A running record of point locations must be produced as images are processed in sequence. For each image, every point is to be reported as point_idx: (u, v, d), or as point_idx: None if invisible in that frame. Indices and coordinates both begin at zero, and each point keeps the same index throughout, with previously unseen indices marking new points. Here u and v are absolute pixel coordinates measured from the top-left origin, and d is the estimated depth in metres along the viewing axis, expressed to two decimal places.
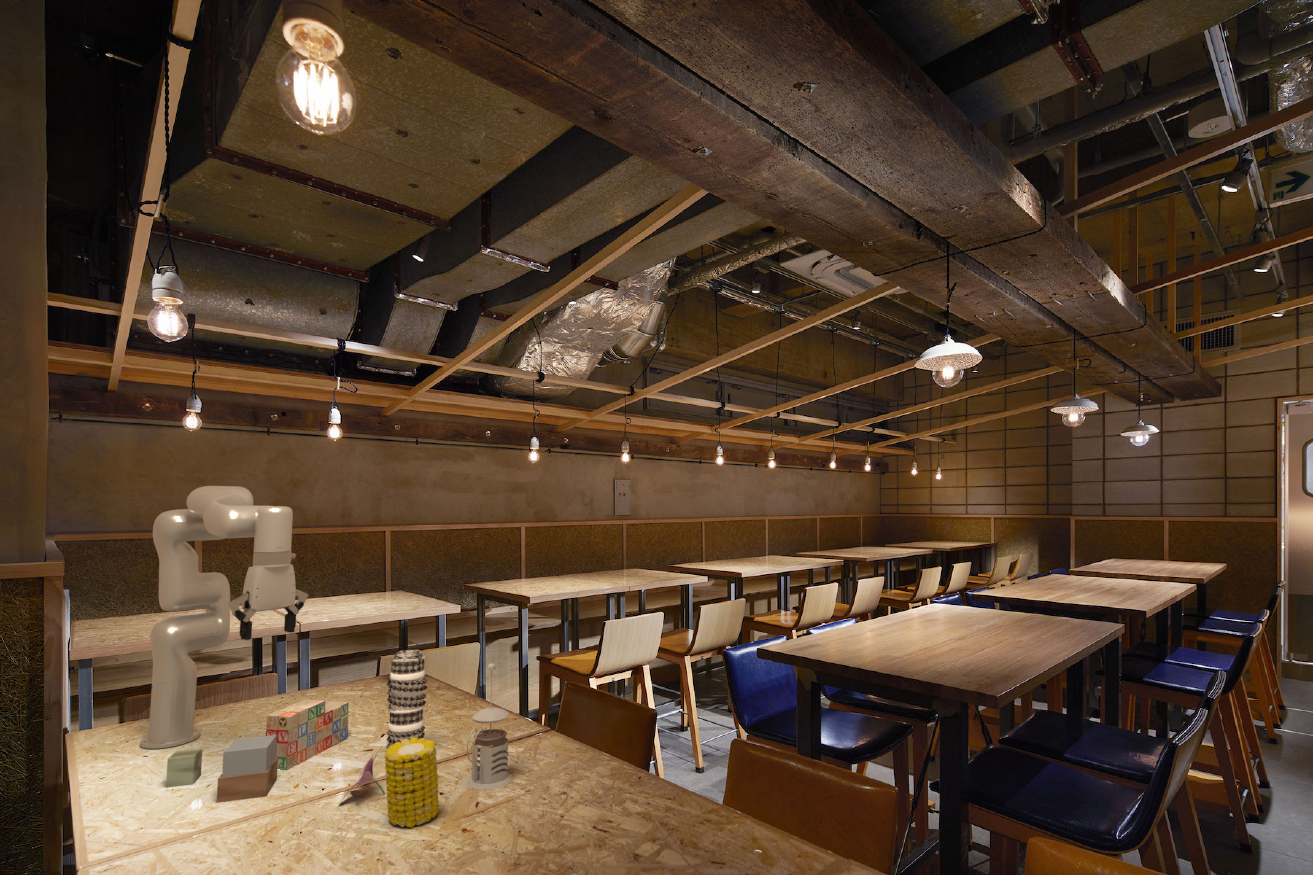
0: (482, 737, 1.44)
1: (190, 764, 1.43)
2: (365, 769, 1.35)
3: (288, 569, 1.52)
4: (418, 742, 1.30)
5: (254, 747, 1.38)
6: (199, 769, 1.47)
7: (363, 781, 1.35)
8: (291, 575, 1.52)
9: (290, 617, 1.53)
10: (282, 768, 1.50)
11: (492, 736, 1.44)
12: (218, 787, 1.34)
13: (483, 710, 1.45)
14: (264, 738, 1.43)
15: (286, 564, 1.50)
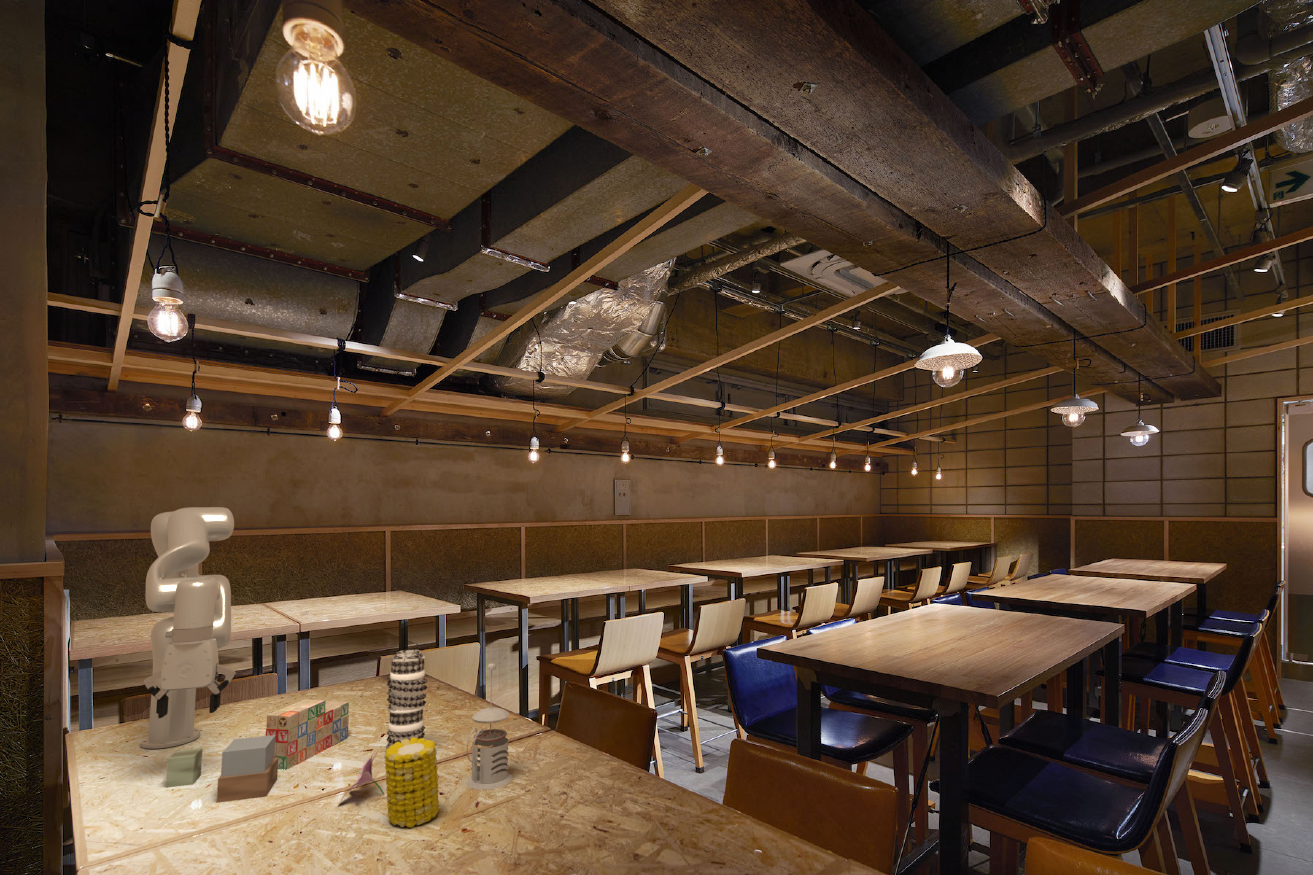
0: (482, 737, 1.44)
1: (190, 764, 1.43)
2: (364, 769, 1.34)
3: None
4: (418, 742, 1.30)
5: (252, 747, 1.38)
6: (199, 769, 1.47)
7: (362, 781, 1.35)
8: None
9: (167, 699, 1.45)
10: (282, 768, 1.51)
11: (492, 736, 1.44)
12: (218, 787, 1.34)
13: (483, 710, 1.45)
14: (263, 738, 1.43)
15: None
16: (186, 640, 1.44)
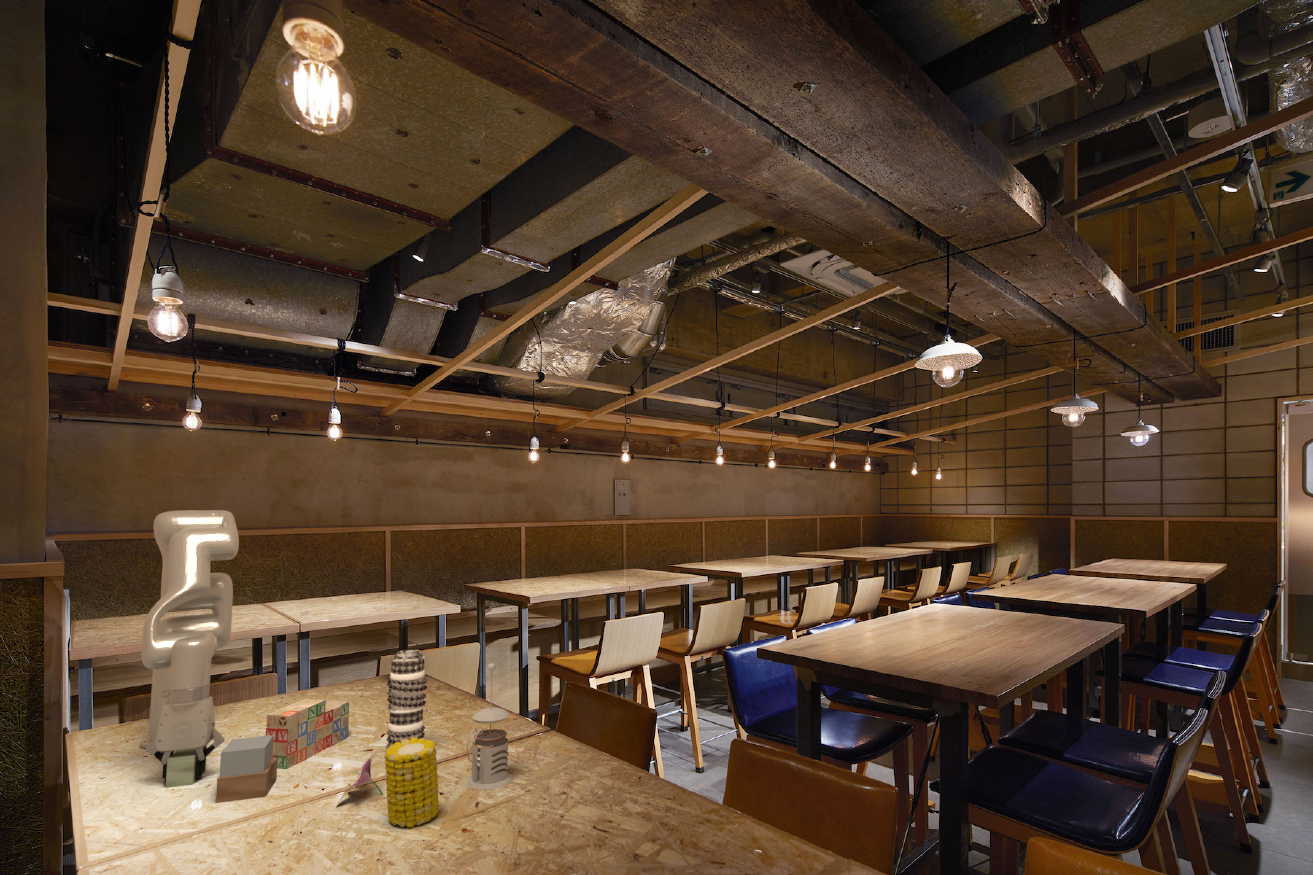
0: (482, 737, 1.44)
1: (190, 764, 1.43)
2: (363, 770, 1.34)
3: None
4: (418, 742, 1.30)
5: (251, 747, 1.38)
6: None
7: (361, 782, 1.35)
8: None
9: None
10: (282, 767, 1.51)
11: (492, 736, 1.44)
12: (217, 787, 1.34)
13: (483, 710, 1.45)
14: (261, 739, 1.43)
15: None
16: (182, 701, 1.43)
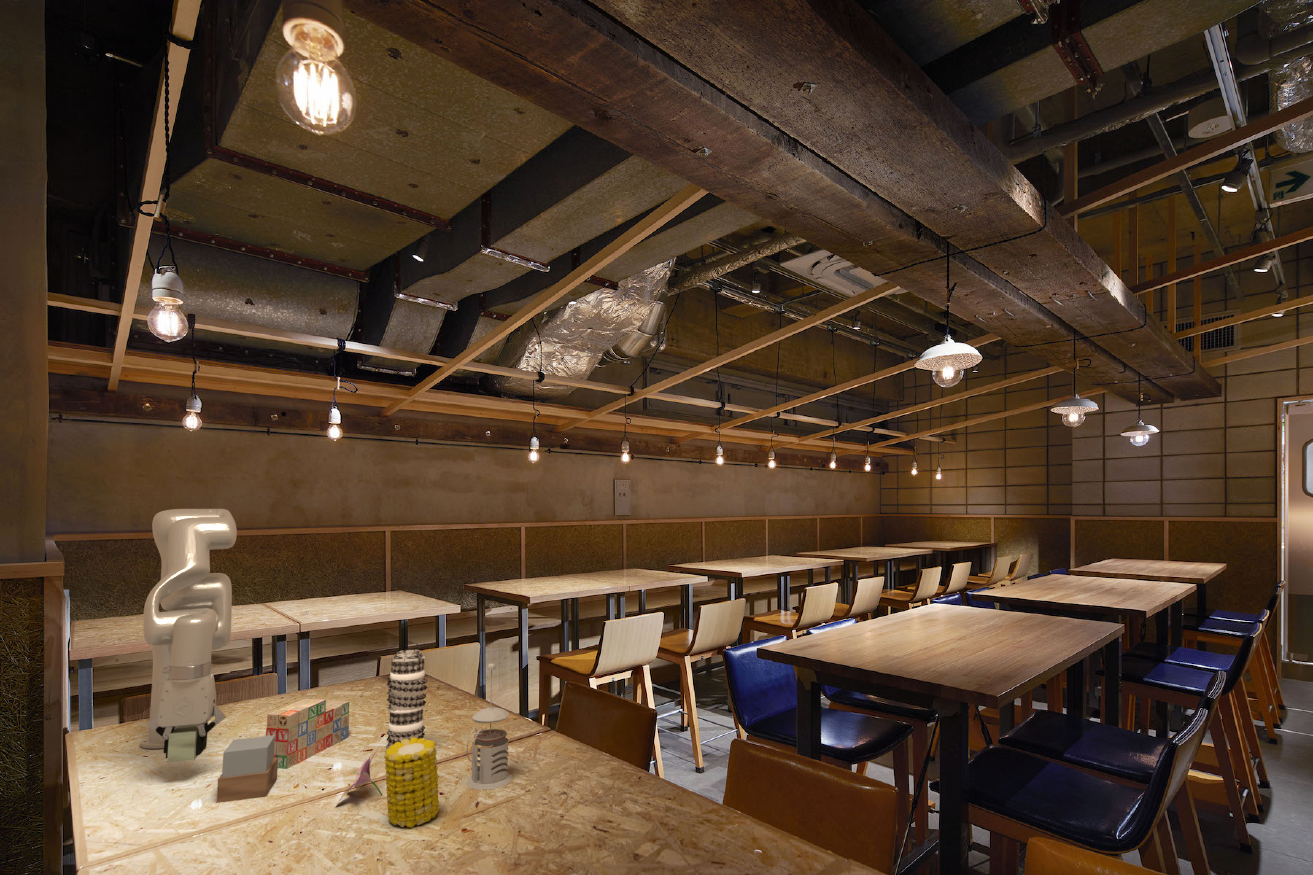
0: (482, 737, 1.44)
1: (191, 740, 1.44)
2: (362, 770, 1.34)
3: None
4: (418, 742, 1.30)
5: (254, 747, 1.38)
6: None
7: (360, 782, 1.35)
8: None
9: None
10: (282, 767, 1.51)
11: (492, 736, 1.44)
12: (218, 787, 1.34)
13: (483, 710, 1.45)
14: (263, 739, 1.43)
15: None
16: (183, 678, 1.43)
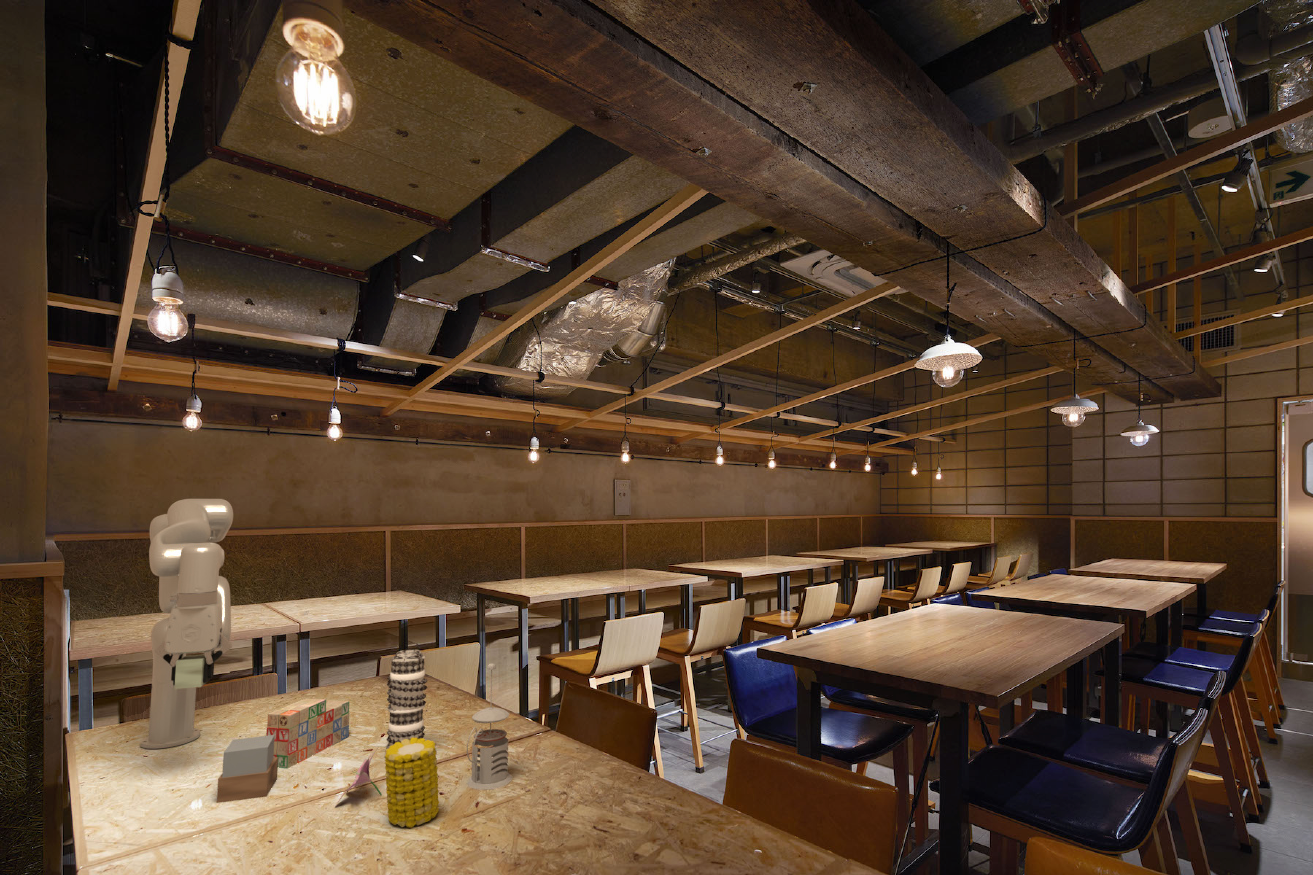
0: (482, 737, 1.44)
1: (199, 667, 1.45)
2: (362, 770, 1.34)
3: None
4: (418, 742, 1.30)
5: (254, 747, 1.38)
6: None
7: (360, 782, 1.34)
8: None
9: None
10: (283, 767, 1.51)
11: (492, 736, 1.44)
12: (218, 787, 1.34)
13: (483, 710, 1.45)
14: (262, 738, 1.43)
15: None
16: (190, 604, 1.45)
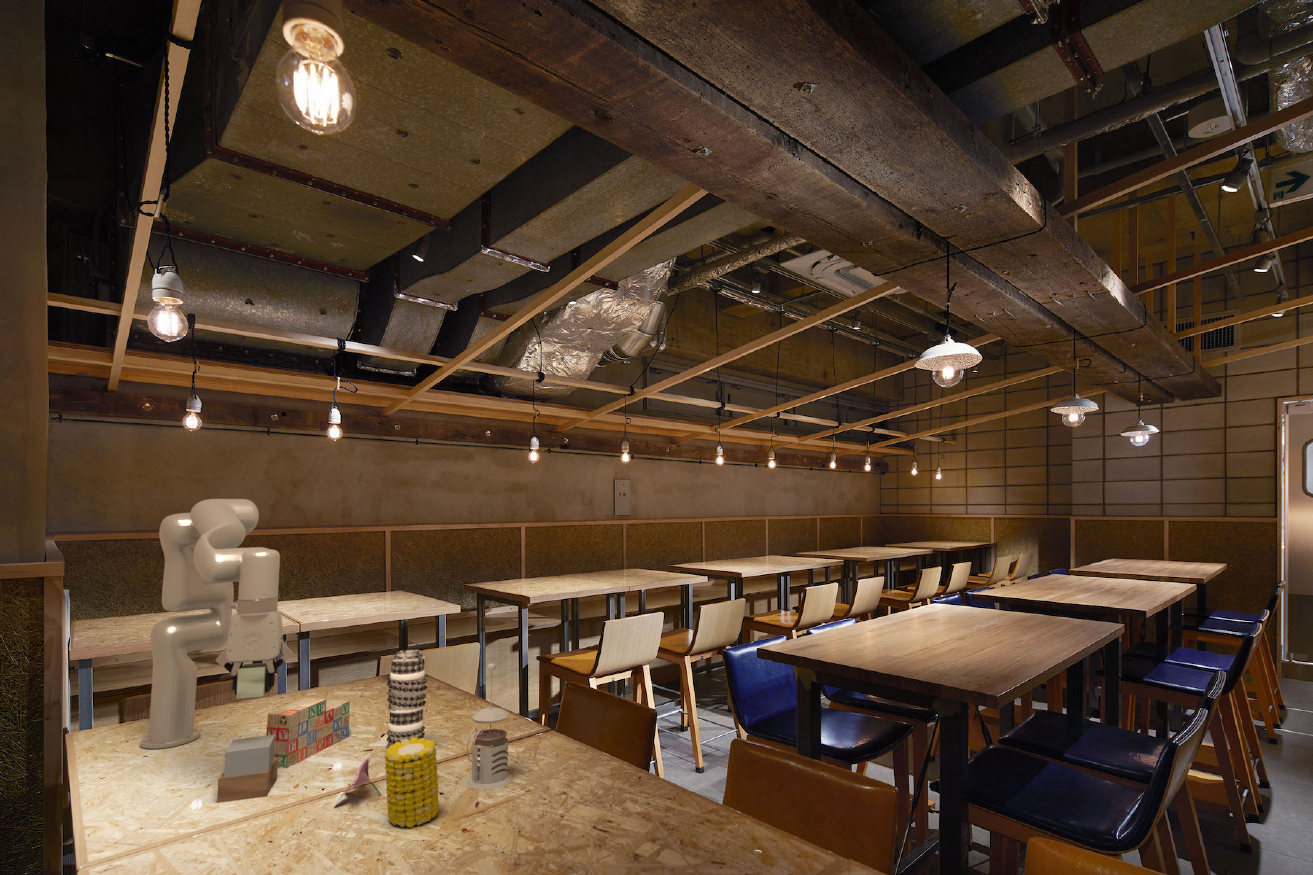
0: (482, 737, 1.44)
1: (261, 676, 1.40)
2: (361, 770, 1.34)
3: None
4: (418, 742, 1.30)
5: (255, 746, 1.38)
6: None
7: (359, 782, 1.34)
8: None
9: None
10: (282, 766, 1.52)
11: (492, 736, 1.44)
12: (218, 787, 1.34)
13: (483, 710, 1.45)
14: (263, 738, 1.43)
15: None
16: (252, 611, 1.40)
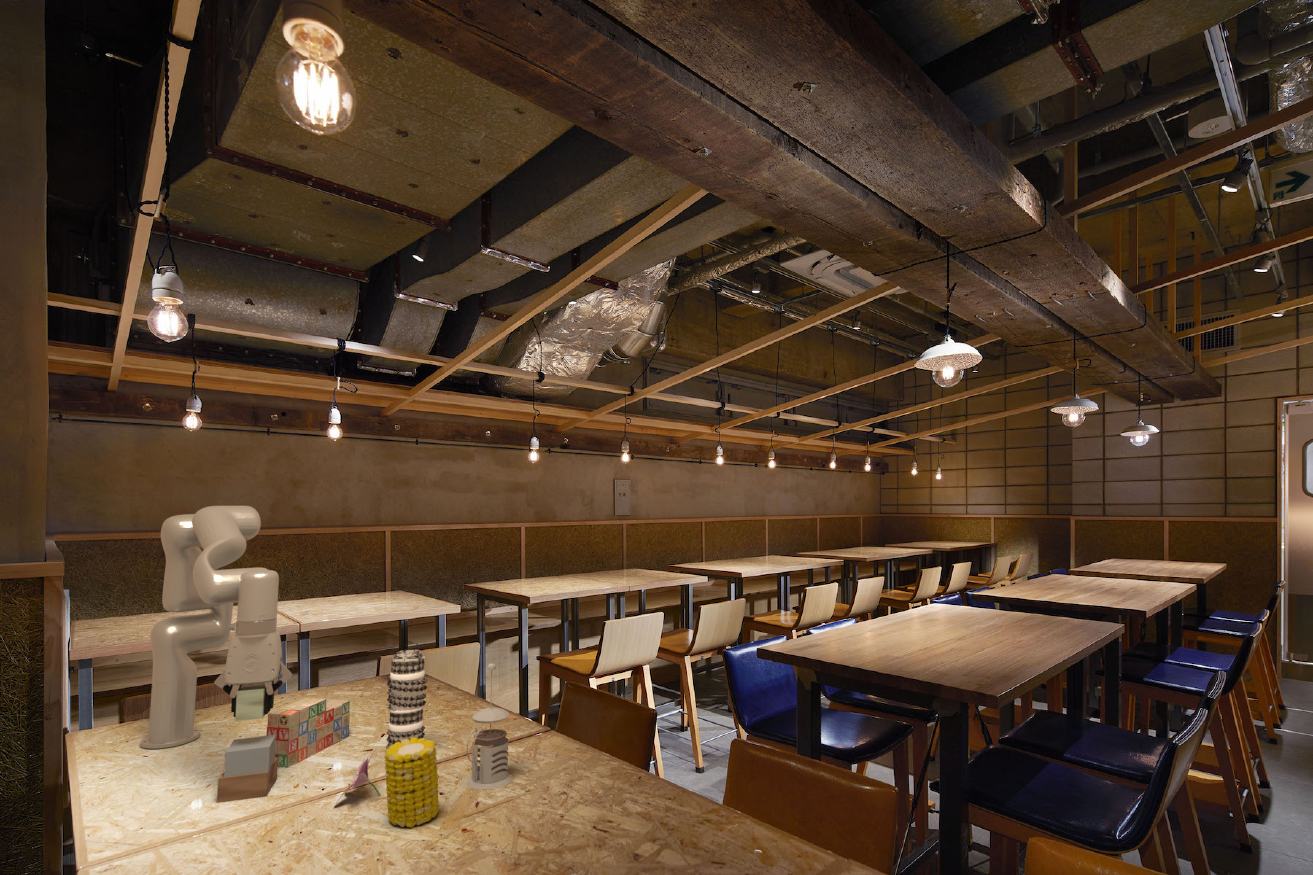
0: (482, 737, 1.44)
1: (260, 698, 1.40)
2: (360, 770, 1.34)
3: None
4: (418, 742, 1.30)
5: (256, 746, 1.38)
6: None
7: (358, 783, 1.34)
8: None
9: None
10: (283, 766, 1.52)
11: (492, 736, 1.44)
12: (218, 787, 1.34)
13: (483, 710, 1.45)
14: (264, 738, 1.43)
15: None
16: (251, 633, 1.39)
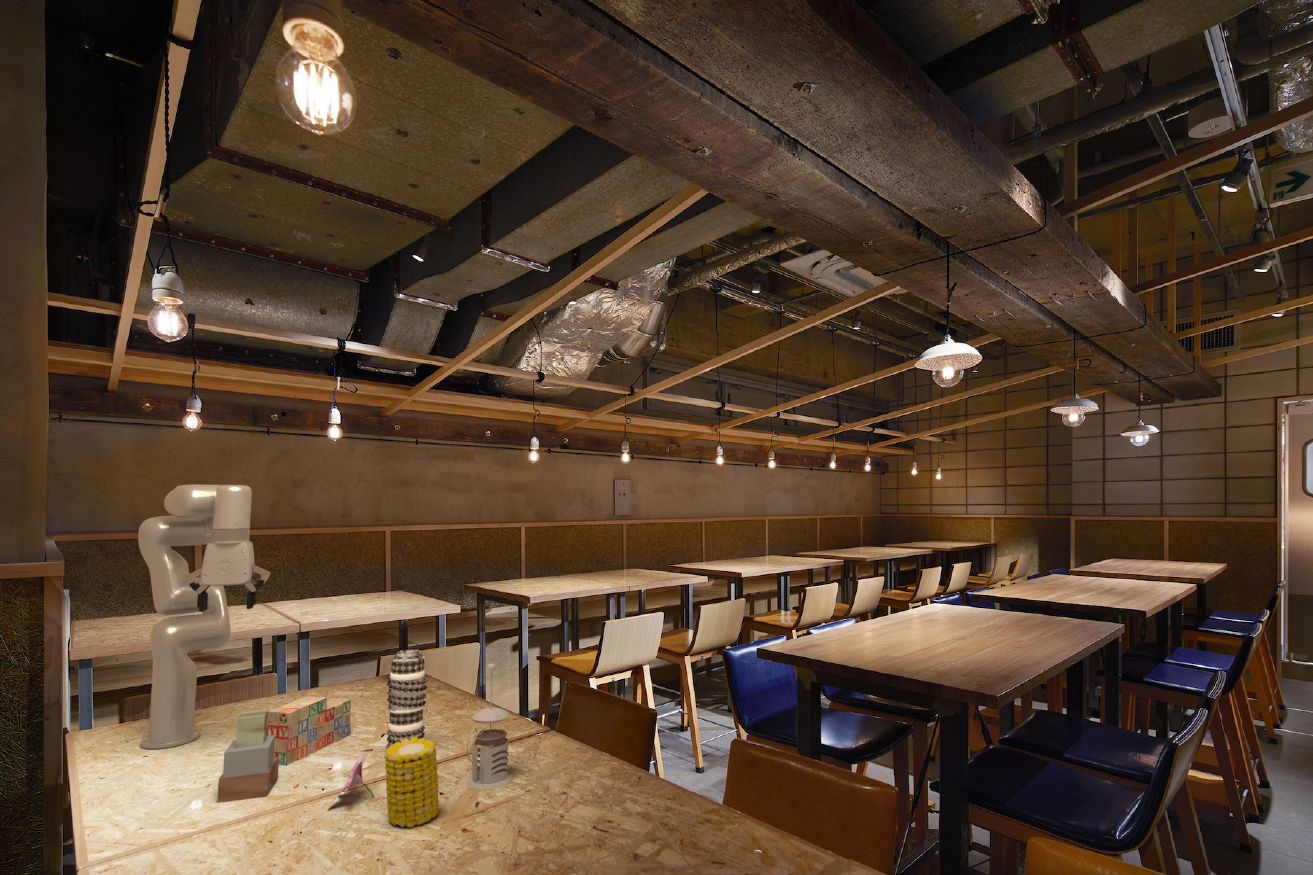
0: (482, 737, 1.44)
1: (261, 724, 1.39)
2: (355, 772, 1.33)
3: None
4: (418, 742, 1.30)
5: (255, 747, 1.38)
6: (266, 731, 1.43)
7: (352, 784, 1.33)
8: None
9: (207, 595, 1.54)
10: (282, 764, 1.53)
11: (492, 736, 1.44)
12: (219, 787, 1.34)
13: (483, 710, 1.45)
14: None
15: None
16: (225, 539, 1.53)
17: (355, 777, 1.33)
